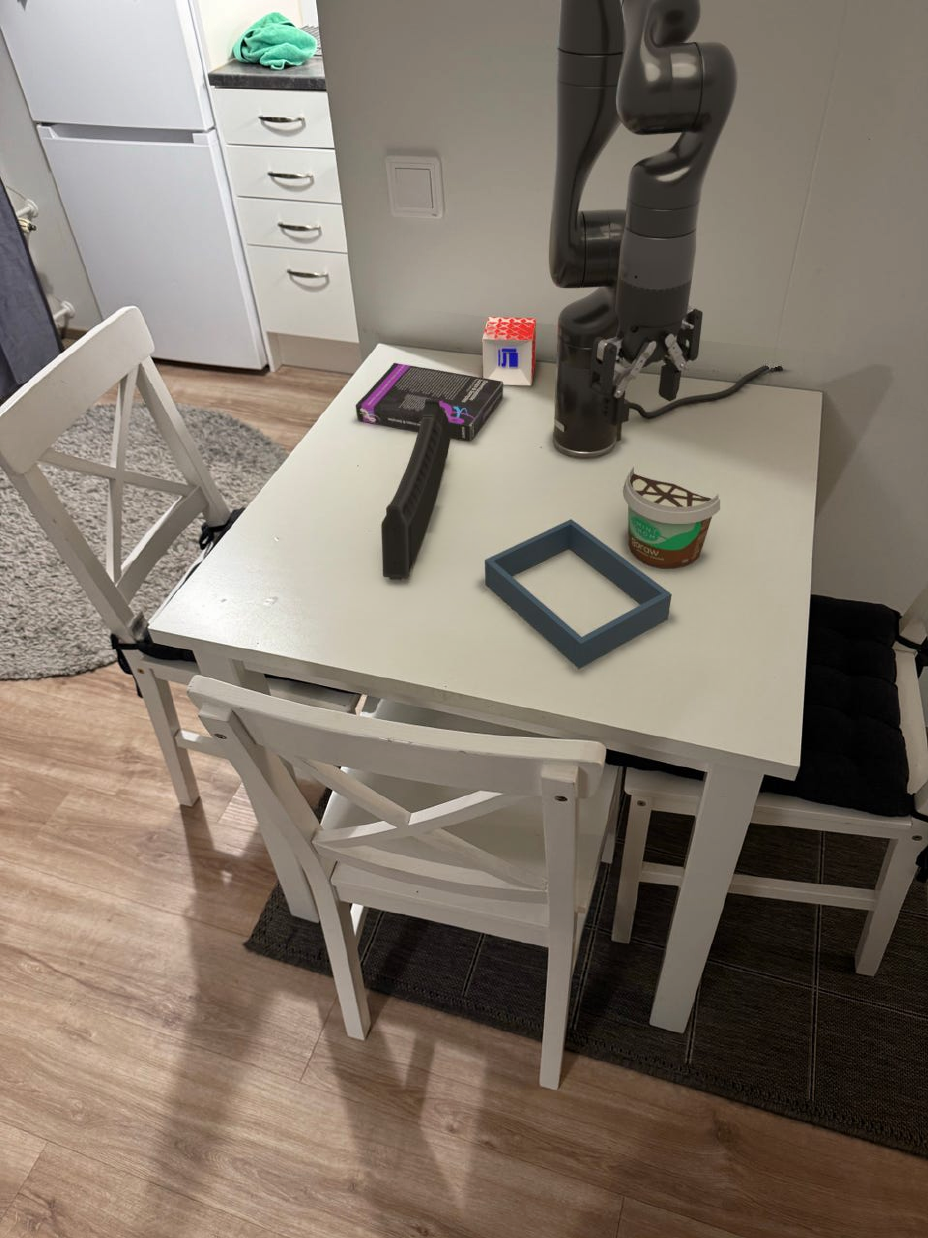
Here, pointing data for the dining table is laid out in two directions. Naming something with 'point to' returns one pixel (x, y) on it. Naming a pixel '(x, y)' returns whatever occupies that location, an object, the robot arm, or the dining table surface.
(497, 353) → the white and red cube
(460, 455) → the dining table surface
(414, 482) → the magazine
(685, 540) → the food container
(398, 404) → the box
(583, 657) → the blue rectangular frame
